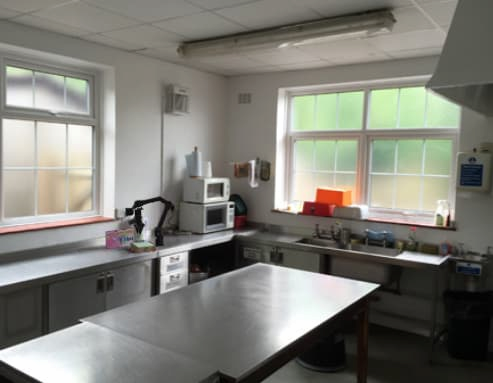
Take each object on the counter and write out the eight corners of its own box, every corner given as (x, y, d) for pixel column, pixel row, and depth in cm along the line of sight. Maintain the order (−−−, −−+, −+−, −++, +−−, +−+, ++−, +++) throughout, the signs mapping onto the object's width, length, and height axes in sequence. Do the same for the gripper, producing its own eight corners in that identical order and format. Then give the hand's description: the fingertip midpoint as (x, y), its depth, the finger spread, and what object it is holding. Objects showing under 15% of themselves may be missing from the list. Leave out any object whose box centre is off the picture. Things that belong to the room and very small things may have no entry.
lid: (147, 242, 368) (147, 239, 368) (154, 246, 352) (154, 243, 352) (132, 243, 362) (132, 240, 362) (138, 247, 346) (137, 244, 346)
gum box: (131, 243, 383) (131, 228, 382) (136, 244, 377) (135, 229, 376) (105, 247, 367) (104, 231, 365) (109, 249, 361) (109, 232, 360)
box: (149, 246, 369) (149, 240, 369) (156, 251, 353) (156, 244, 353) (130, 248, 362) (130, 242, 361) (136, 253, 346) (135, 246, 345)
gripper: (125, 214, 371) (126, 233, 372) (131, 217, 355) (131, 236, 356) (138, 213, 376) (139, 231, 378) (144, 216, 360) (145, 235, 361)
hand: (138, 234), depth 368 cm, fingers open, 8 cm apart
